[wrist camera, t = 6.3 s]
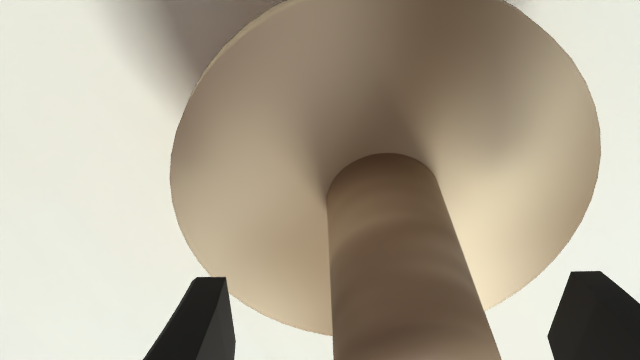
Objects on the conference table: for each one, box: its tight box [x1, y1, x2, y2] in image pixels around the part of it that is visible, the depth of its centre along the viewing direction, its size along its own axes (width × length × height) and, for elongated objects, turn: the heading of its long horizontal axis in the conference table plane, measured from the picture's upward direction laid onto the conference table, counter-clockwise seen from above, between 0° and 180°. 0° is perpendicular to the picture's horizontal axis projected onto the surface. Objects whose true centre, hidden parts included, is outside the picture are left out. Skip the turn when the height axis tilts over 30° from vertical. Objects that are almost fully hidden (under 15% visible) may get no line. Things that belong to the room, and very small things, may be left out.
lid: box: [170, 0, 601, 360], centre depth 11 cm, size 10×10×6 cm
